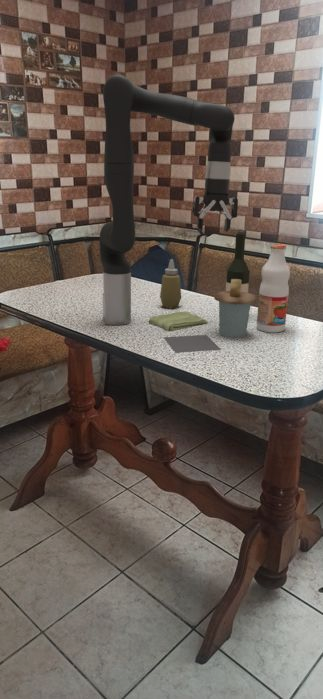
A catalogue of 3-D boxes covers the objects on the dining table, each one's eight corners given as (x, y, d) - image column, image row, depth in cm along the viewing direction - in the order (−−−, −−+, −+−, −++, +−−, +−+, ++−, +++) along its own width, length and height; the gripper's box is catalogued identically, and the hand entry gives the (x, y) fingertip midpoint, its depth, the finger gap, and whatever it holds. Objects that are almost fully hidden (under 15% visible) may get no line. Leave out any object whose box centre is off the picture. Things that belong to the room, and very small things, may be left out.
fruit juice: (261, 323, 182) (268, 241, 173) (288, 327, 178) (297, 244, 168) (252, 330, 174) (259, 245, 165) (279, 334, 170) (288, 248, 161)
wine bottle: (220, 316, 189) (225, 231, 178) (228, 311, 196) (233, 229, 185) (242, 320, 185) (248, 233, 175) (249, 314, 192) (256, 231, 182)
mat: (175, 354, 151) (175, 352, 151) (163, 339, 164) (163, 337, 164) (221, 351, 154) (221, 349, 154) (206, 336, 167) (206, 334, 167)
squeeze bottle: (181, 304, 204) (183, 258, 198) (180, 309, 196) (181, 261, 190) (160, 303, 204) (161, 257, 198) (158, 308, 197) (159, 261, 191)
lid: (222, 305, 158) (224, 285, 155) (208, 294, 169) (209, 276, 167) (262, 303, 161) (264, 283, 159) (245, 293, 172) (247, 275, 170)
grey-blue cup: (213, 338, 166) (216, 301, 162) (220, 328, 175) (222, 293, 171) (246, 341, 163) (249, 304, 159) (250, 332, 172) (253, 296, 168)
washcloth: (209, 326, 179) (210, 316, 178) (169, 334, 169) (169, 325, 168) (185, 316, 189) (185, 308, 188) (145, 324, 179) (145, 315, 178)
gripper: (198, 176, 157) (194, 231, 163) (243, 178, 160) (238, 232, 166) (192, 176, 164) (188, 229, 170) (235, 178, 167) (230, 230, 173)
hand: (213, 230), depth 168 cm, fingers open, 8 cm apart
